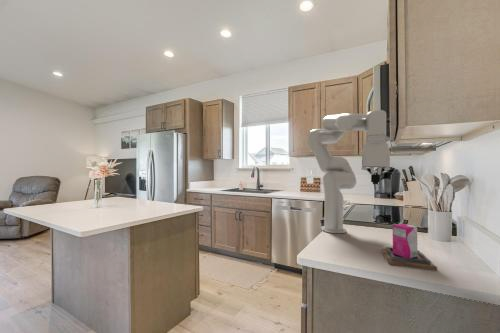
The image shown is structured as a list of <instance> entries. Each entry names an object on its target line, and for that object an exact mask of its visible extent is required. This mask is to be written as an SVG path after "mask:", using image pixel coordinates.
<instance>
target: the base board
mask: <svg viewBox="0 0 500 333" xmlns="http://www.w3.org/2000/svg"><path fill="white" fill-rule="evenodd" d="M380 252H381V254H382V255H383V257H384V258H385V260H386V262H387V264H388V265H390V266H397V267H406V268H412V269H420V270H427V271H429V270H430V271H434V272H435V271H436V272H437V271H438V267H437V266H436V265H435V264H434V262H432V261H431V259H429V258H428V257H427V256H426V255H425V254H424V253H423V252H421V251H420V250H418V258H415V259H412V258H404V257H398V256H395V255H393V247H389V246H388V247H387V246H386V247H385V248H381V249H380Z"/></svg>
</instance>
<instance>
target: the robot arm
mask: <svg viewBox="0 0 500 333" xmlns="http://www.w3.org/2000/svg"><path fill="white" fill-rule="evenodd" d="M321 126H322V127H323V128H314V129H312V130H310V131H309V133H308V134H307V143H308V146H309V149H310V151H311V152H312V154H313V155H314V156H315V159H316V161H317V164H318V167H319V169H320V171H321V172H322V173H324V175H323V176H322V182H323V183H322V184H323V190H324V215H323V216H324V222H323V226H321V231H322V232H325V233H329V234H345V233H347V229H346V228H345V227H344V195H343V193H342V192H341V190H351V189H354V188H355V186H356V185H357V178H356V175H355V172H354V171H353V168H352V167H351V165H350V163H349V161H348V160H347V159H346V158H345V157H342V156H334V155H332V154H331V151H330V150H329V148H328V147H327V146H326V145H324V144H327V145H329V144H331V145H333V144H336V143H337V142H338V141H339V140H340V139H341V137H342V136H343V135H344V134H345V133H346V131H355V132H356V131H357V132H365V143H363V146H362V154H361V155H362V156H361V170H363V171H367V172H368V173H369V174H370V178H371V179H370V182H371V183H372V185H379V183H380V180H381V179H380V178H381V174H382V173H384V172H387V171H391V167H390V164H391V157H390V147H389V143H387V142H390V141H391V137H388V135H387V112H386V111H385V110H383V109H377V110H376V109H375V110H371V111H368V112H367V113H354V112H353V113H348V112H347V113H340V114H329V115H326V116H325V117H324V118H323V119H322V121H321ZM375 168H376V173H375Z"/></svg>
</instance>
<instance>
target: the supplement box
mask: <svg viewBox="0 0 500 333" xmlns="http://www.w3.org/2000/svg"><path fill="white" fill-rule="evenodd" d="M392 248H393V255H395V256H398V257H404V258H412V259H415V258H418V251H419V250H418V226H417V225H416V226H415V225H412V224H411V225H410V224H407V223H398V224H392Z"/></svg>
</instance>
